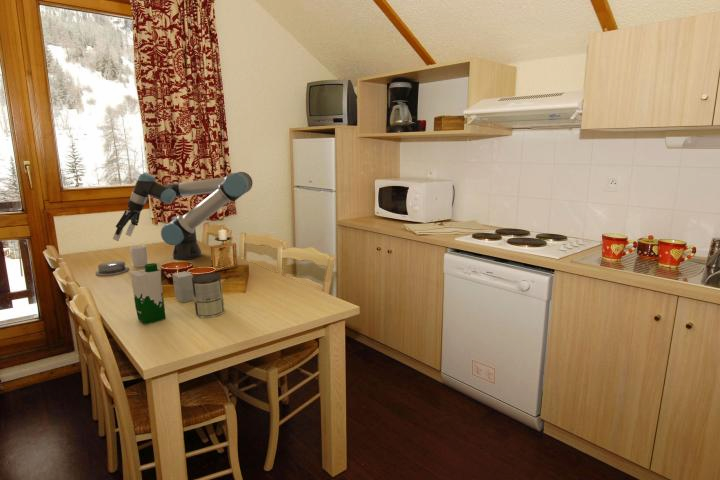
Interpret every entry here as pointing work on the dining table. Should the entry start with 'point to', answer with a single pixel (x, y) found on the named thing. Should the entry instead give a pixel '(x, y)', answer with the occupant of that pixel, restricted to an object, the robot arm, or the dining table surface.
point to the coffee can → (208, 295)
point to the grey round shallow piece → (111, 268)
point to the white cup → (139, 255)
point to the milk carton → (148, 294)
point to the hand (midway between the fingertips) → (121, 237)
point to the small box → (183, 286)
